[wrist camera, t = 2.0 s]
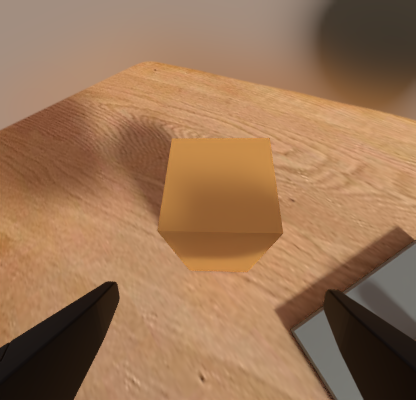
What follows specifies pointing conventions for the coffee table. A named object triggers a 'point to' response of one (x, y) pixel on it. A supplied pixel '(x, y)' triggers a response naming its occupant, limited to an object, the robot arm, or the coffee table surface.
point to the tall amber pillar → (220, 203)
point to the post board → (372, 300)
